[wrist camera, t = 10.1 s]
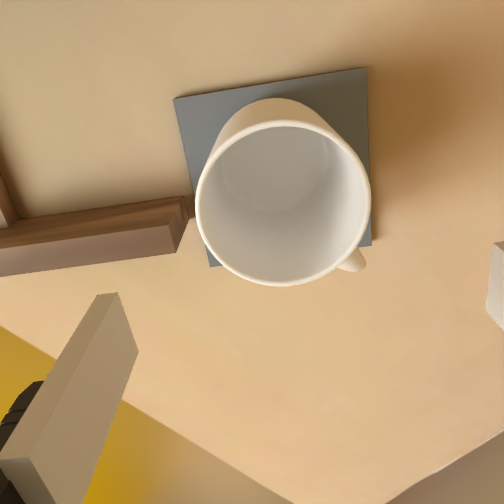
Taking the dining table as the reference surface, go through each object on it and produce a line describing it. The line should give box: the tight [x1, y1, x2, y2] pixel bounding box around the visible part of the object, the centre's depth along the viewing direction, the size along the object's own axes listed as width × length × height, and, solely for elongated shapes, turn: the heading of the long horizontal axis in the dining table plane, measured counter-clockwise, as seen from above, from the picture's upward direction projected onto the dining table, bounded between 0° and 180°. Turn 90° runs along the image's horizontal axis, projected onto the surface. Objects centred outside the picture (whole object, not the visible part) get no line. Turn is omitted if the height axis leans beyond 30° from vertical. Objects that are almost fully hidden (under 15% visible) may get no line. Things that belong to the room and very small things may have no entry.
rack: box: [0, 175, 189, 277], centre depth 27 cm, size 19×14×6 cm
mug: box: [195, 98, 371, 286], centre depth 26 cm, size 9×12×11 cm
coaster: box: [173, 67, 372, 267], centre depth 31 cm, size 13×13×1 cm
